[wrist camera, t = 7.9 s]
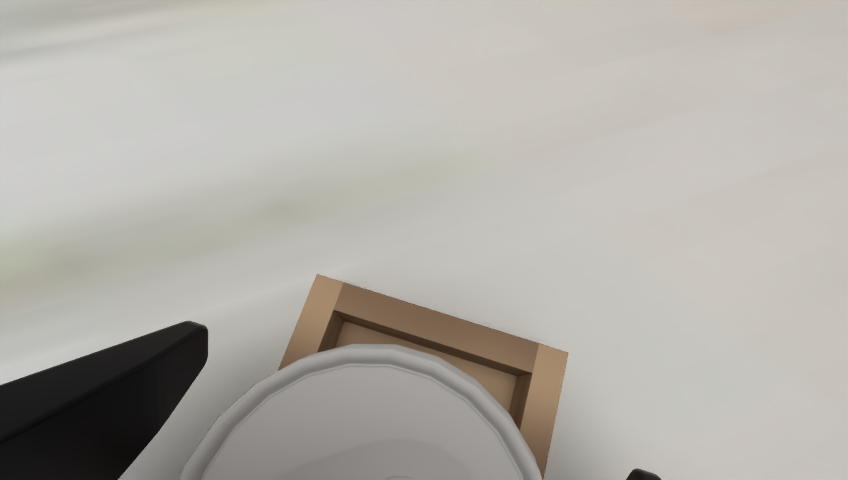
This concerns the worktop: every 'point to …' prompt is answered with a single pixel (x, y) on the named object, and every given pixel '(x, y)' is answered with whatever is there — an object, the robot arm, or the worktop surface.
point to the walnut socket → (439, 350)
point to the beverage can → (364, 423)
